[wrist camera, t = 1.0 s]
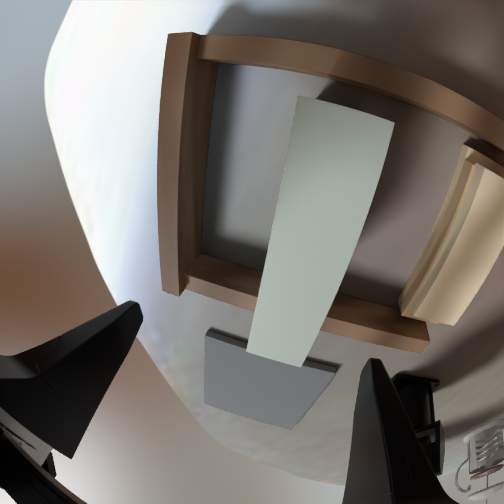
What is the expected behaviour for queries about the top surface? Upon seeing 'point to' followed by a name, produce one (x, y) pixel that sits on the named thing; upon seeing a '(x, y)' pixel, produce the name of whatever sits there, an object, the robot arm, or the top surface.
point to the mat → (259, 383)
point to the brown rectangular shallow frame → (196, 150)
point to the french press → (474, 444)
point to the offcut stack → (459, 243)
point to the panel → (316, 223)
